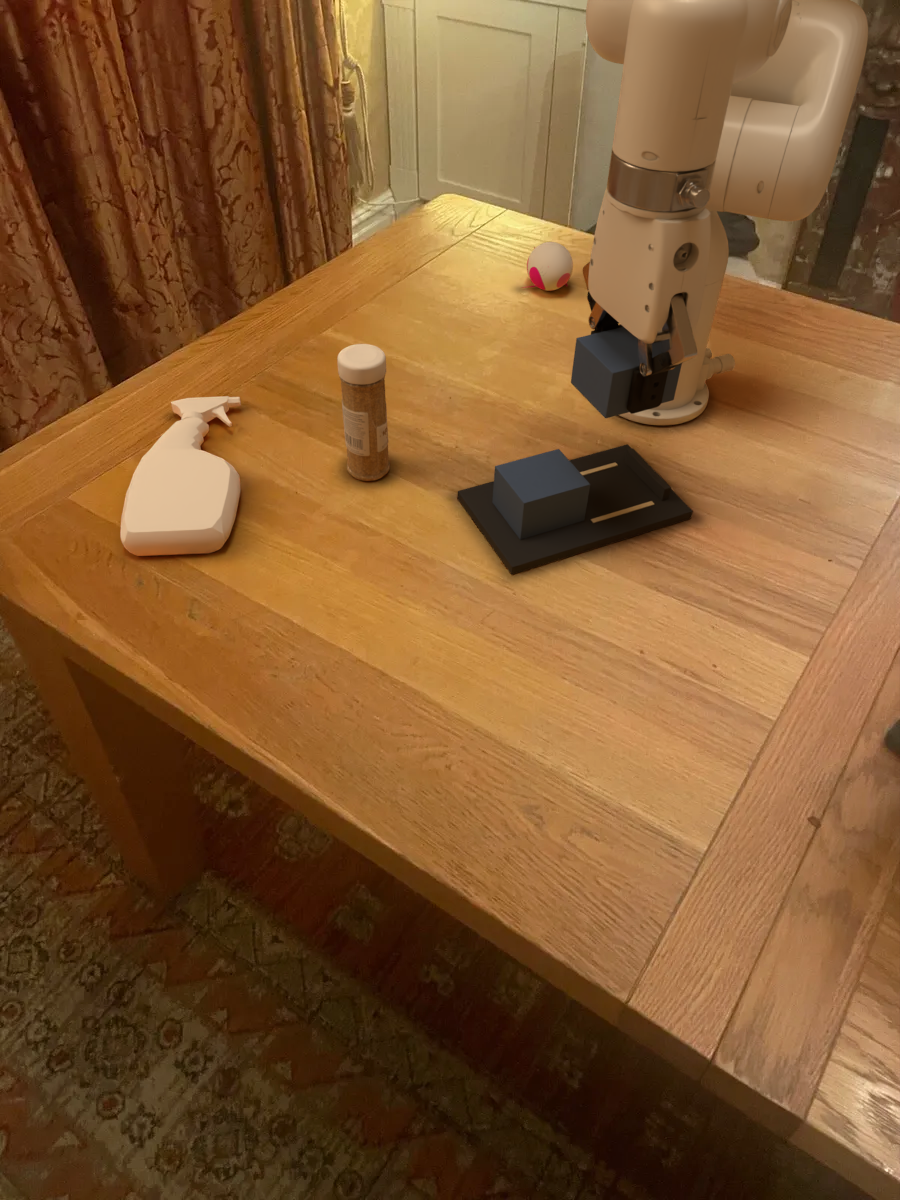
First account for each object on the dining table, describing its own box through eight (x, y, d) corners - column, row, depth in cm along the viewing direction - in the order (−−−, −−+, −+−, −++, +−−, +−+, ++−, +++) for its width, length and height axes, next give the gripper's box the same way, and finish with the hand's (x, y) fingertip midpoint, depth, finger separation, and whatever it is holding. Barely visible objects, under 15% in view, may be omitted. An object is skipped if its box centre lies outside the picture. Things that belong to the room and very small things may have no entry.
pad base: (626, 451, 97) (634, 408, 93) (691, 518, 90) (703, 474, 86) (457, 498, 91) (458, 454, 87) (511, 575, 84) (515, 530, 80)
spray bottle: (116, 560, 84) (157, 412, 101) (235, 555, 85) (255, 409, 102) (108, 535, 82) (151, 389, 99) (230, 531, 83) (251, 386, 100)
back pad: (636, 366, 83) (645, 321, 80) (674, 400, 79) (684, 355, 76) (570, 382, 81) (576, 337, 78) (605, 419, 77) (612, 373, 74)
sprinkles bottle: (398, 473, 94) (394, 358, 84) (360, 488, 92) (351, 372, 82) (376, 450, 97) (370, 336, 87) (338, 464, 95) (328, 350, 85)
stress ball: (525, 297, 127) (501, 261, 123) (573, 262, 125) (550, 224, 121) (540, 322, 122) (515, 285, 117) (591, 285, 120) (567, 247, 115)
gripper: (774, 216, 63) (715, 431, 76) (638, 131, 73) (607, 332, 86) (684, 235, 60) (639, 453, 73) (557, 145, 71) (538, 349, 84)
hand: (622, 386), depth 80 cm, fingers closed on back pad, 6 cm apart
